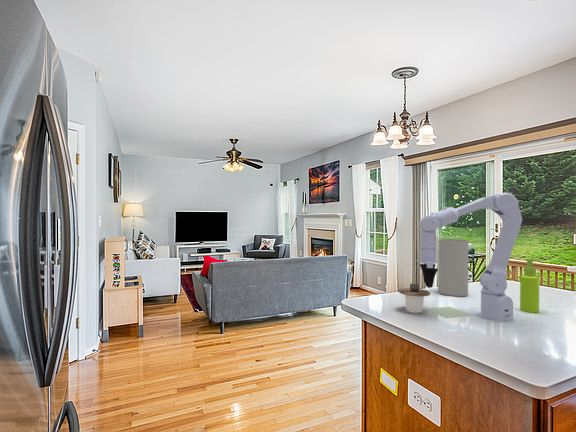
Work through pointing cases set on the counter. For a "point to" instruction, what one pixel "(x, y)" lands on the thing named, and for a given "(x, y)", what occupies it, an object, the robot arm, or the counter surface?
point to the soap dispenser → (529, 288)
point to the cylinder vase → (453, 267)
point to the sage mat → (448, 312)
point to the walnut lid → (414, 291)
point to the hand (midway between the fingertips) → (428, 284)
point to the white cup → (414, 303)
